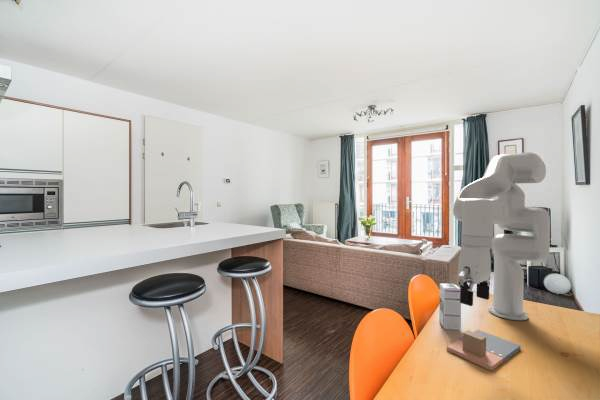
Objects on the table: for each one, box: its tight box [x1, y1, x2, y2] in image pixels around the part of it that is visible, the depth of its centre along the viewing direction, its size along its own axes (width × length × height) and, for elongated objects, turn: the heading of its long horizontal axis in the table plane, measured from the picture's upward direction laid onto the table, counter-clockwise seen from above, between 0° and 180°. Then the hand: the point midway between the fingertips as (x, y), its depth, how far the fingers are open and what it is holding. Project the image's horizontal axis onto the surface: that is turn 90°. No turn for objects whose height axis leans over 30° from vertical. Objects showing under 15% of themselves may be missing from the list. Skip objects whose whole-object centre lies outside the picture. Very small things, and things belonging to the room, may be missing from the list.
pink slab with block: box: [446, 329, 504, 371], centre depth 82 cm, size 7×12×6 cm, turn 34°
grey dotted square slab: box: [459, 329, 521, 363], centre depth 88 cm, size 12×12×1 cm
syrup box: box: [438, 282, 462, 331], centre depth 101 cm, size 6×6×14 cm
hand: (474, 301), depth 82 cm, fingers open, 9 cm apart
